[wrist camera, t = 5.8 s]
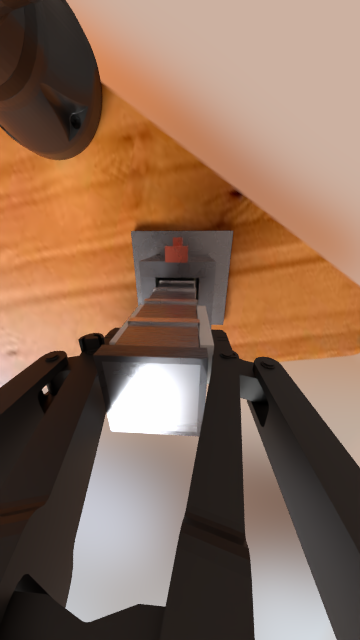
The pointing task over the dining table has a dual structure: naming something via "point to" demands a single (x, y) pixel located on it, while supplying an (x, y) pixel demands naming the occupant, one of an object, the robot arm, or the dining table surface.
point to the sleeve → (185, 264)
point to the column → (157, 366)
